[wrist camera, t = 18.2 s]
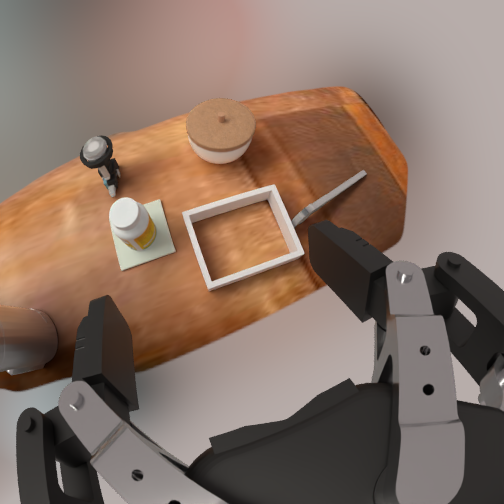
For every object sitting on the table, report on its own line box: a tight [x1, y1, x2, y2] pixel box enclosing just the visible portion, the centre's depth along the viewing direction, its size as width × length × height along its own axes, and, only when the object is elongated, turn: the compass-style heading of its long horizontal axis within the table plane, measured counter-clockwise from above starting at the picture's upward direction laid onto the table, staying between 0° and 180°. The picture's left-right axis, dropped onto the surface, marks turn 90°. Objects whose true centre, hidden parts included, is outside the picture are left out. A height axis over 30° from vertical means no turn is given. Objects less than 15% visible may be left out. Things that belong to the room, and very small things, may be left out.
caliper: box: [291, 170, 366, 228], centre depth 44 cm, size 20×1×6 cm, turn 128°
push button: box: [80, 136, 120, 197], centre depth 37 cm, size 7×5×10 cm
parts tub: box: [182, 184, 305, 291], centre depth 41 cm, size 12×15×4 cm
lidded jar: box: [186, 98, 256, 164], centre depth 42 cm, size 11×11×9 cm
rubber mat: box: [109, 199, 176, 271], centre depth 40 cm, size 9×9×1 cm
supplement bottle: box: [109, 197, 157, 251], centre depth 36 cm, size 5×5×10 cm
